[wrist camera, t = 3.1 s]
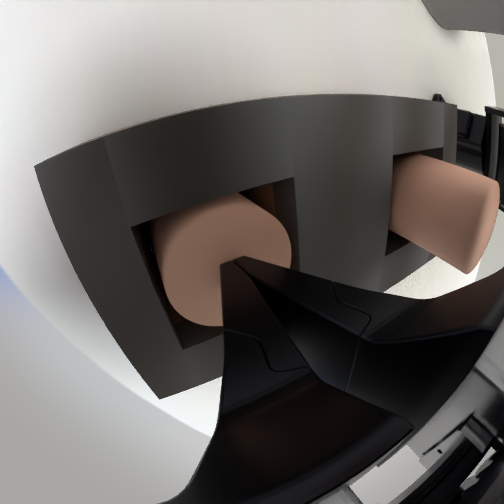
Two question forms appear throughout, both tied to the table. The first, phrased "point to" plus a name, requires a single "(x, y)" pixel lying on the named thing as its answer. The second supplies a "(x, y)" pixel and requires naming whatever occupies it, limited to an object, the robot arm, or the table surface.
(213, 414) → the table surface
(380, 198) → the block
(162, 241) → the peg
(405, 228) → the peg
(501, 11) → the coffee mug
